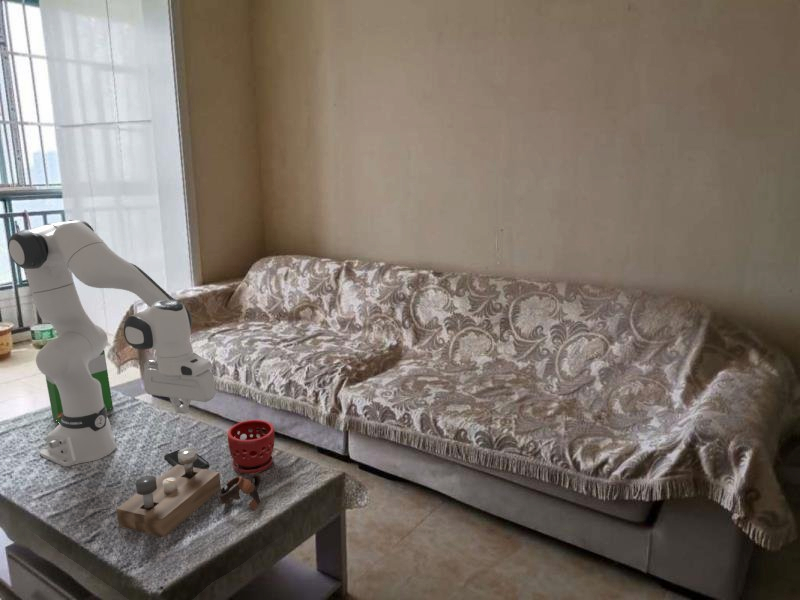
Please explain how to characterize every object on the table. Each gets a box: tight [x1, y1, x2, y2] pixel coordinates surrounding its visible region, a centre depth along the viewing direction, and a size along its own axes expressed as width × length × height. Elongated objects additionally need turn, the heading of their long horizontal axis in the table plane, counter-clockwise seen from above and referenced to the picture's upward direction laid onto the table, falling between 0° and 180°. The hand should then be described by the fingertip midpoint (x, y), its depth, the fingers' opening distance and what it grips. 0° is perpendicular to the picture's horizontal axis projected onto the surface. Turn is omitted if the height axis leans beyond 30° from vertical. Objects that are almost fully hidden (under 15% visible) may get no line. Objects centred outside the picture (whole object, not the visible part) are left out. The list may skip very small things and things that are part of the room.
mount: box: [115, 464, 222, 538], centre depth 150 cm, size 14×22×5 cm, turn 161°
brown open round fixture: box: [217, 473, 262, 512], centre depth 152 cm, size 12×10×8 cm
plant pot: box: [227, 419, 275, 475], centre depth 168 cm, size 13×13×12 cm
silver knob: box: [178, 446, 197, 477], centre depth 155 cm, size 5×5×7 cm
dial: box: [163, 478, 177, 493], centre depth 149 cm, size 3×3×3 cm
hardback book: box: [44, 349, 114, 424], centre depth 205 cm, size 18×7×24 cm, turn 137°
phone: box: [163, 447, 210, 469], centre depth 173 cm, size 8×1×15 cm
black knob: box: [134, 475, 157, 508], centre depth 142 cm, size 5×5×7 cm
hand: (182, 412), depth 152 cm, fingers closed
